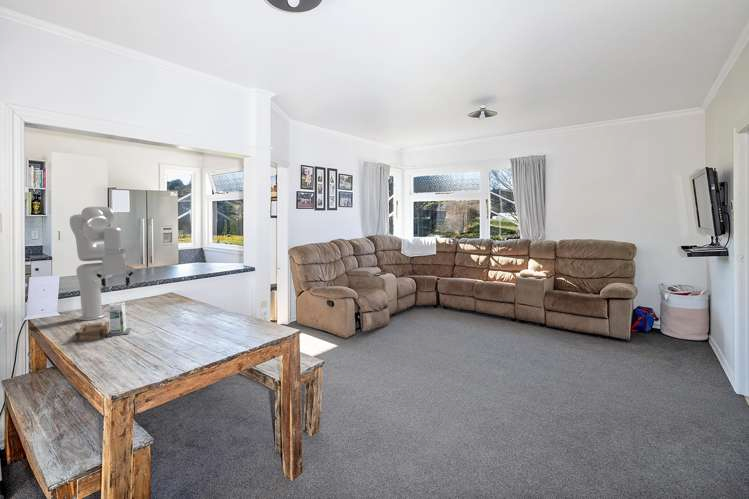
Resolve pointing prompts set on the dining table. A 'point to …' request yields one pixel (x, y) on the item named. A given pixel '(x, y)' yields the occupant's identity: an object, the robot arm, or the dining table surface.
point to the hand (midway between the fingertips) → (116, 285)
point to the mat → (119, 333)
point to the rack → (91, 333)
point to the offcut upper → (94, 325)
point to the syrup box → (117, 317)
